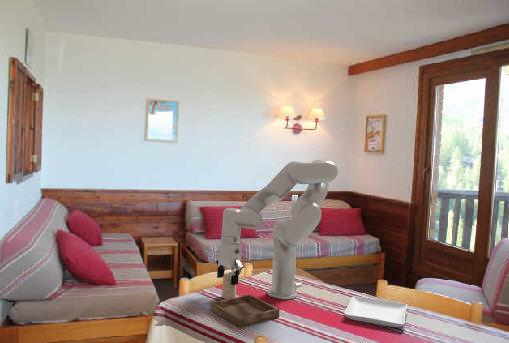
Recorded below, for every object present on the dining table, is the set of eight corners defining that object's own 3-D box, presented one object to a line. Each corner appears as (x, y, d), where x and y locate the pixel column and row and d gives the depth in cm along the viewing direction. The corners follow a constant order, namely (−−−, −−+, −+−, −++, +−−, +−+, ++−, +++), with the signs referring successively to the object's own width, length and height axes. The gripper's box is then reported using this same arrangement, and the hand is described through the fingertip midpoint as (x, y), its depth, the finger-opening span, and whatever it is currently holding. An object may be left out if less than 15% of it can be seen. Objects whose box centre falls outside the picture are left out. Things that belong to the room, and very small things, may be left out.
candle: (233, 300, 179) (234, 275, 178) (220, 298, 180) (221, 274, 179) (237, 295, 184) (238, 271, 184) (224, 294, 186) (225, 270, 185)
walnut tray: (248, 301, 179) (249, 294, 178) (279, 316, 165) (279, 308, 164) (210, 310, 167) (210, 303, 167) (239, 328, 153) (239, 319, 153)
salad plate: (342, 321, 164) (343, 312, 163) (352, 302, 183) (352, 294, 183) (403, 333, 156) (404, 323, 156) (407, 312, 176) (407, 303, 175)
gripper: (251, 243, 176) (247, 286, 177) (226, 233, 189) (222, 273, 191) (235, 244, 171) (232, 288, 172) (210, 235, 185) (207, 276, 186)
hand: (227, 280), depth 182 cm, fingers open, 9 cm apart
